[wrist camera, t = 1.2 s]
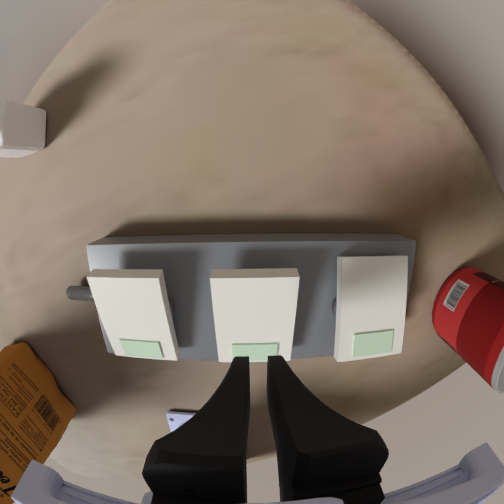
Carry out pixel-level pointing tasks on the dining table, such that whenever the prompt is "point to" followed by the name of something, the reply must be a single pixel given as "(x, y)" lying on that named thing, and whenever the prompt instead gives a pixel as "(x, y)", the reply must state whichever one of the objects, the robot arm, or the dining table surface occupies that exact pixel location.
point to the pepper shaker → (21, 129)
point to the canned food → (473, 321)
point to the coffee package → (27, 415)
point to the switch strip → (243, 257)
